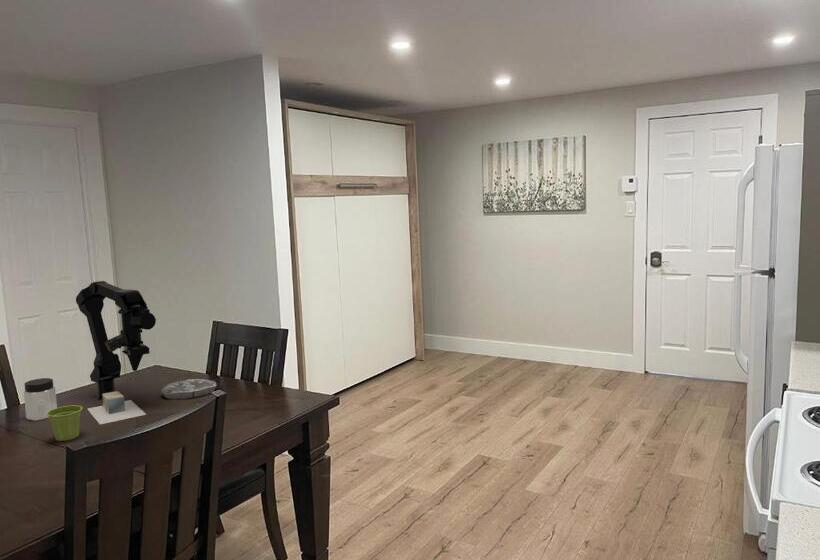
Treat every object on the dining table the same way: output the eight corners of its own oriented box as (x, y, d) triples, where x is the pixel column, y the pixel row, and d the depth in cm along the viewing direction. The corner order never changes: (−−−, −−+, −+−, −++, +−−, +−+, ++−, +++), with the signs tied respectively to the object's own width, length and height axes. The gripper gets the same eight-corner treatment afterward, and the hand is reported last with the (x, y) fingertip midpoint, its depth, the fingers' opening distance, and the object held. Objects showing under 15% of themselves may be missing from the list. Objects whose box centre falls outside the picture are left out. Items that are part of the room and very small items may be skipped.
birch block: (109, 414, 202) (103, 407, 209) (125, 410, 206) (119, 404, 212) (107, 399, 202) (102, 393, 209) (124, 396, 205) (117, 390, 212)
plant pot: (60, 446, 177) (57, 417, 176) (42, 440, 182) (40, 412, 181) (91, 435, 185) (88, 408, 183) (74, 430, 190) (71, 403, 188)
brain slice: (209, 383, 238) (209, 376, 238) (220, 394, 224) (220, 386, 223) (156, 392, 228) (155, 384, 228) (164, 404, 214) (163, 396, 213)
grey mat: (87, 409, 209) (87, 408, 209) (130, 401, 217) (130, 400, 217) (100, 425, 193) (99, 424, 193) (146, 415, 202) (146, 414, 202)
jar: (26, 422, 197) (23, 386, 196) (26, 415, 204) (22, 381, 203) (58, 416, 202) (55, 381, 201) (56, 410, 209) (53, 376, 207)
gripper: (99, 326, 213) (103, 369, 215) (112, 334, 198) (116, 380, 200) (133, 321, 220) (137, 364, 222) (148, 329, 205) (151, 374, 207)
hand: (134, 370), depth 213 cm, fingers closed
